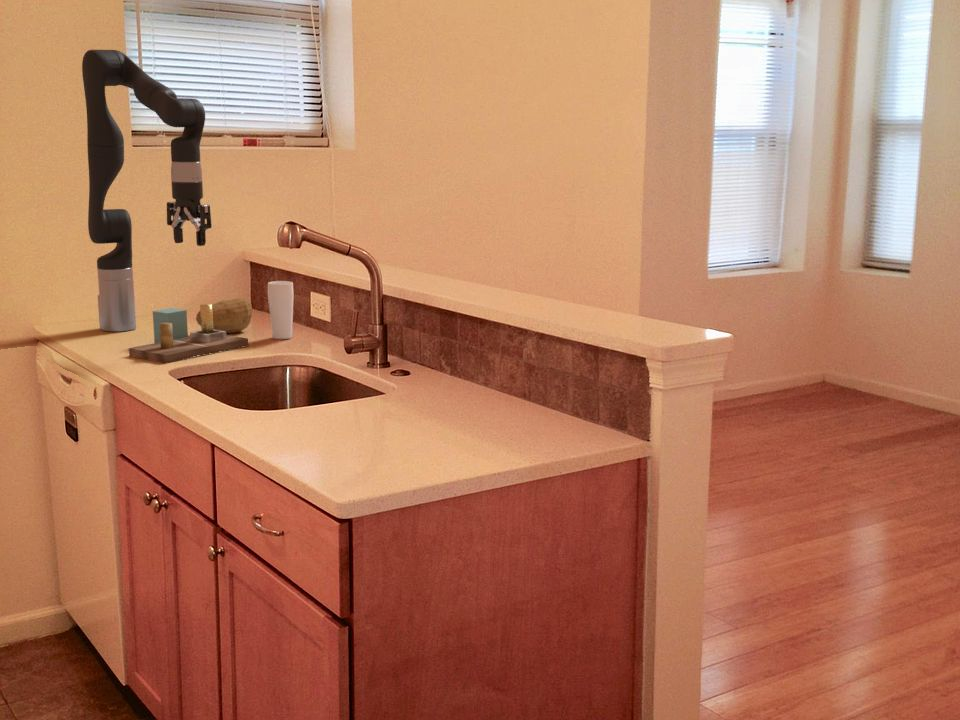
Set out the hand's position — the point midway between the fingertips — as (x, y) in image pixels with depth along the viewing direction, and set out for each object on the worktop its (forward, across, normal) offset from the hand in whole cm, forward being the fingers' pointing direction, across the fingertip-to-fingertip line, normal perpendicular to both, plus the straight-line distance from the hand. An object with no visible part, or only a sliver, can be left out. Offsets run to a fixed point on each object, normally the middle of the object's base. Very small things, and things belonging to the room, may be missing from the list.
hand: (189, 244), depth 274 cm
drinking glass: (+26, +12, +20) cm, 35 cm away
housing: (+26, -5, -3) cm, 27 cm away
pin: (+24, +6, 0) cm, 25 cm away
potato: (+26, -6, +16) cm, 31 cm away
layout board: (+26, +6, -6) cm, 27 cm away
